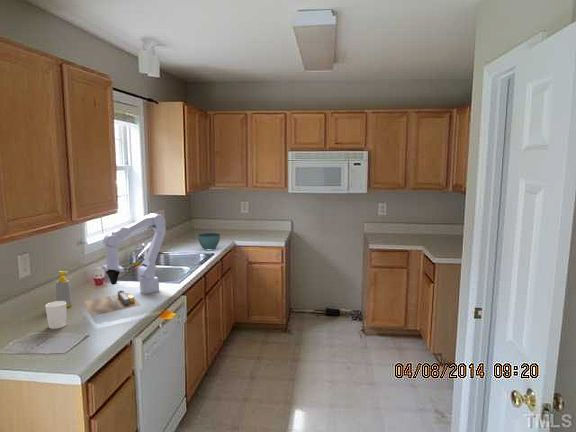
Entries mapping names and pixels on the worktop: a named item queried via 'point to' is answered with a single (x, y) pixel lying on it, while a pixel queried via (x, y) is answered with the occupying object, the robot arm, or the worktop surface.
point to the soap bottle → (63, 290)
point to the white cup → (56, 314)
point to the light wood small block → (131, 299)
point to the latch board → (108, 304)
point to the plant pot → (209, 240)
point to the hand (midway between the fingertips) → (114, 283)
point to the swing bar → (123, 297)
